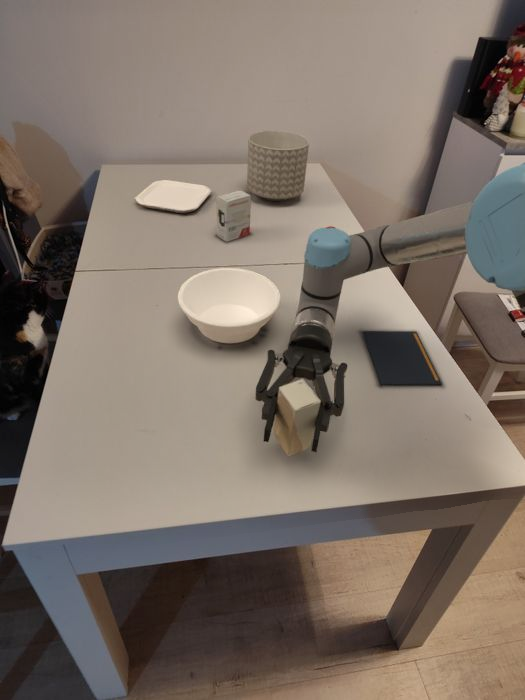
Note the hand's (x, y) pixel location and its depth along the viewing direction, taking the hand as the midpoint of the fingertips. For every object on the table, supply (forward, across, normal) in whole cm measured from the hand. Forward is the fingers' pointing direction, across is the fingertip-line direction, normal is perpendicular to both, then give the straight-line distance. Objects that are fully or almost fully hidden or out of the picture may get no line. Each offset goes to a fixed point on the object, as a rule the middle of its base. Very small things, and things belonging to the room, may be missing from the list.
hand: (290, 440), depth 62 cm
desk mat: (-34, -18, -9) cm, 39 cm away
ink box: (-75, +28, -9) cm, 81 cm away
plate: (-93, +52, -9) cm, 107 cm away
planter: (-107, +22, -9) cm, 110 cm away
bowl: (-34, +18, -10) cm, 40 cm away
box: (-5, 0, -7) cm, 8 cm away
